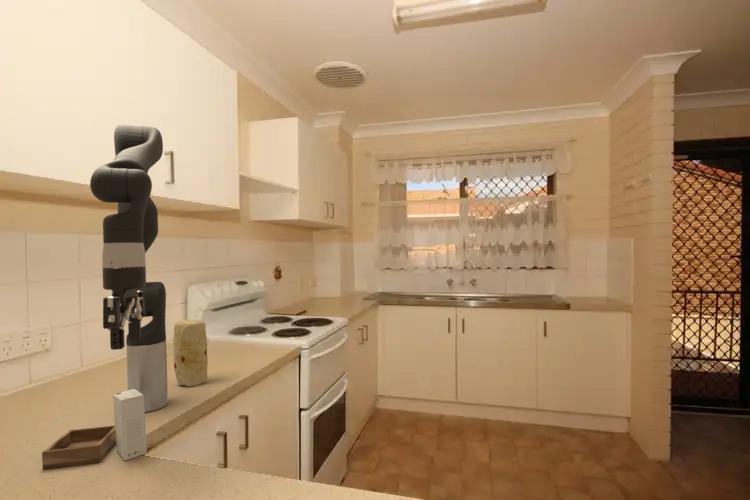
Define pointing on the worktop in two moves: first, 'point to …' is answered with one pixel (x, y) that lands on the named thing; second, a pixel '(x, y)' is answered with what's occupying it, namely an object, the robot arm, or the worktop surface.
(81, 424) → the worktop surface
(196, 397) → the worktop surface
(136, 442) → the skincare box
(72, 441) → the brown square tray
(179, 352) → the food model
